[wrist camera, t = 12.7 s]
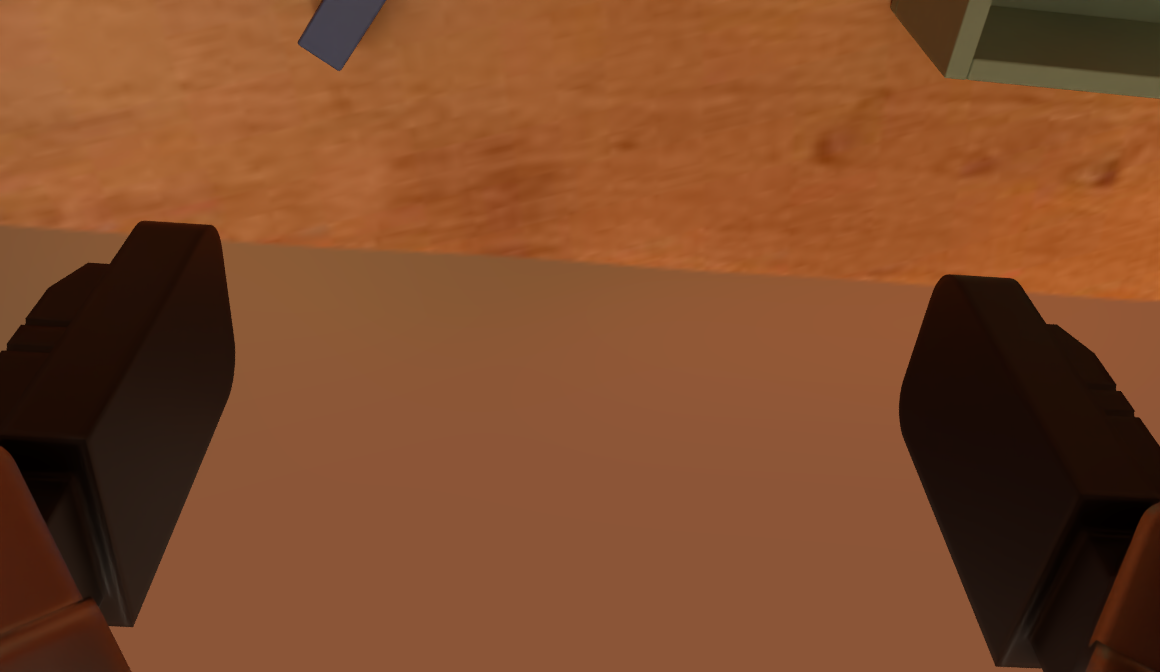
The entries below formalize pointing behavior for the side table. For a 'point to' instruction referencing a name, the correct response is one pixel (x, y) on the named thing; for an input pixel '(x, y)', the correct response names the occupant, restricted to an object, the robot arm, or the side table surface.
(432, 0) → the side table surface
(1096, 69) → the bin
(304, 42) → the blue spoon
